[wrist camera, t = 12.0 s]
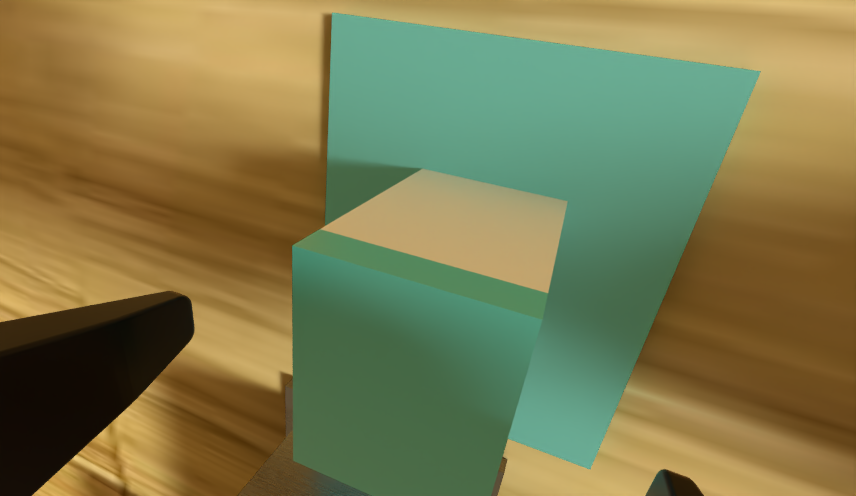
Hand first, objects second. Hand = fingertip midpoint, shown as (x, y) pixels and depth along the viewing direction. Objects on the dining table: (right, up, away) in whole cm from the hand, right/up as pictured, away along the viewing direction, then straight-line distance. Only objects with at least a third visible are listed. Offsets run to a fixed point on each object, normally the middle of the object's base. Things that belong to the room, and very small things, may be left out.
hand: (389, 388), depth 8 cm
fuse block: (+2, +2, +5) cm, 6 cm away
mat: (+2, +2, +5) cm, 6 cm away
